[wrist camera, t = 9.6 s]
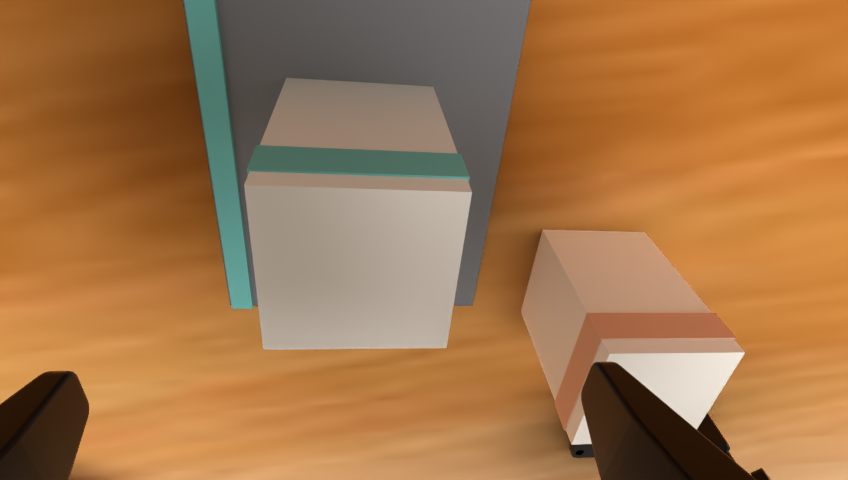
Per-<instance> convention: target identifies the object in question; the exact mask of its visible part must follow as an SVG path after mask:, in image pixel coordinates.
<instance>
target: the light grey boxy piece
mask: <svg viewBox="0 0 848 480" xmlns="http://www.w3.org/2000/svg"><path fill="white" fill-rule="evenodd" d="M521 314H522V316H523V319H524V322H525V324H526V327H527V330H528V332H529V335H530V337H531V340H532V343H533V345H534V348H535V351H536V353H537V356H538V358H539V361H540V364H541V366H542V369H543V372H544V374H545V377H546V379H547V382H548V385H549V387H550V390H551V393H552V395H553V398H554V400H555V402H554V405H555V408H556V411H557V413H558V416H559V419H560V421H561V424H562V427H563V429H564V431H566V432H567V435H568V437H569V440H570V442H571V445H577V444H592V443H591V438H590V434H589V430H588V426H587V422H586V418H585V414H584V410H583V406H582V401H581V392H582V388H583V385H584V383H585V380H586V378H587V375H588V373H589V370H590V368H591V366H592V364H594V363H595V362H616V363H618V364H619V365H620V366H622V367H623V368H624V369H625V370H626V371H628V372H629V373H630V374H631V375H632V376H634V377H635V378H636V379H637V380H638V381H639V382H641V383H642V384H643V385H644V386H645V387H647V388H648V389H649V390H650V391H651V392H653V393H654V394H655V395H656V396H657V397H659V398H660V399H661V400H662V401H663V402H664V403H666V404H667V405H668V406H669V407H670V408H672V409H673V410H674V411H675V412H676V413H678V414H679V415H680V416H681V417H682V418H683V419H685V420H686V421H687V422H688V423H689V424H691V425H692V426H693V427H694V428H695V429H697V428H698V427H699V425H700V424H701V422H702V420H703V419H704V417H705V416H706V414H707V412H708V411H709V409H710V408H711V406H712V405H713V403H714V401H715V400H716V398H717V397H718V395H719V393H720V392H721V390H722V389H723V387H724V385H725V384H726V382H727V381H728V379H729V377H730V376H731V374H732V373H733V371H734V369H735V368H736V366H737V365H738V363H739V361H740V360H741V358H742V357H743V355H744V354H745V352H744V350H743V349H742V348H741V347H740V346H739V344H738V343H737V342H736V341H735V338H736V337H735V336H734V335H733V334H732V332H731V331H730V330H729V329H728V328H727V326H726V325H725V324H724V323H723V322H722V321H721V319H720V318H719V317H718V316H717V315H716V313H712V312H711V311H710V310H709V308H708V307H707V306H706V305H705V304H704V302H703V301H702V300H701V299H700V298H699V296H698V295H697V294H696V293H695V292H694V290H693V289H692V288H691V287H690V286H689V284H688V283H687V282H686V281H685V280H684V278H683V277H682V276H681V275H680V274H679V272H678V271H677V270H676V269H675V268H674V266H673V265H672V264H671V263H670V262H669V260H668V259H667V258H666V257H665V256H664V254H663V253H662V252H661V251H660V250H659V248H658V247H657V246H656V245H655V244H654V242H653V241H652V240H651V239H650V238H649V236H648V235H647V234H646V233H645V232H624V231H584V230H542V234H541V237H540V241H539V245H538V249H537V252H536V256H535V260H534V264H533V267H532V271H531V275H530V279H529V283H528V286H527V290H526V294H525V298H524V301H523V305H522V309H521Z"/></svg>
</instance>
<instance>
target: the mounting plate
mask: <svg viewBox="0 0 848 480" xmlns="http://www.w3.org/2000/svg"><path fill="white" fill-rule="evenodd" d="M530 3H531V0H183V6H184V12H185V19H186V25H187V31H188V38H189V44H190V50H191V57H192V63H193V70H194V76H195V82H196V89H197V95H198V101H199V108H200V114H201V121H202V127H203V133H204V140H205V146H206V152H207V159H208V165H209V172H210V178H211V184H212V191H213V197H214V203H215V210H216V216H217V223H218V229H219V235H220V242H221V248H222V254H223V261H224V267H225V274H226V280H227V286H228V293H229V299H230V305H232V309H253V306H254V305H258V300H257V291H256V283H255V274H254V265H253V257H252V248H251V240H250V231H249V223H248V214H247V206H246V197H245V189H244V184H245V181H246V179H247V167H248V165H249V162H250V160H251V157H252V155H253V152H254V150H255V147H256V145H260V143H261V141H262V138H263V136H264V133H265V131H266V128H267V126H268V123H269V120H270V118H271V115H272V113H273V110H274V108H275V105H276V103H277V100H278V98H279V95H280V93H281V90H282V87H283V85H284V82H285V80H286V78H300V79H317V80H333V81H350V82H366V83H383V84H399V85H416V86H433V87H434V90H435V93H436V96H437V98H438V101H439V104H440V106H441V109H442V112H443V115H444V117H445V120H446V123H447V125H448V128H449V131H450V134H451V136H452V139H453V142H454V144H455V147H456V150H457V153H458V154H461V155H462V158H463V161H464V163H465V166H466V168H467V171H468V174H469V176H470V179H469V185H470V188H471V191H472V196H471V202H470V208H469V214H468V220H467V226H466V233H465V239H464V245H463V251H462V257H461V263H460V269H459V275H458V281H457V287H456V293H455V300H454V306H473V301H474V295H475V290H476V285H477V280H478V275H479V269H480V264H481V259H482V254H483V249H484V243H485V238H486V233H487V228H488V222H489V217H490V212H491V207H492V202H493V196H494V191H495V186H496V181H497V175H498V170H499V165H500V160H501V155H502V149H503V144H504V139H505V134H506V129H507V123H508V118H509V113H510V108H511V102H512V97H513V92H514V87H515V82H516V76H517V71H518V66H519V61H520V55H521V50H522V45H523V40H524V35H525V29H526V24H527V19H528V14H529V9H530Z"/></svg>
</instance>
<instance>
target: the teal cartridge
mask: <svg viewBox="0 0 848 480" xmlns="http://www.w3.org/2000/svg"><path fill="white" fill-rule="evenodd" d="M469 179H470V176H469V174H468V171H467V168H466V166H465V163H464V161H463V158H462V155H461V154H458V153H457V150H456V147H455V144H454V142H453V139H452V136H451V134H450V131H449V128H448V125H447V123H446V120H445V117H444V115H443V112H442V109H441V106H440V104H439V101H438V98H437V96H436V93H435V90H434V87H433V86H416V85H399V84H383V83H366V82H350V81H333V80H317V79H300V78H286V80H285V82H284V85H283V87H282V90H281V93H280V95H279V98H278V100H277V103H276V105H275V108H274V110H273V113H272V115H271V118H270V120H269V123H268V126H267V128H266V131H265V133H264V136H263V138H262V141H261V143H260V145H256V147H255V150H254V152H253V155H252V157H251V160H250V162H249V165H248V167H247V179H246V181H245V184H244V189H245V197H246V206H247V214H248V223H249V231H250V240H251V248H252V257H253V265H254V274H255V283H256V291H257V300H258V308H259V317H260V325H261V334H262V342H263V350H296V349H395V348H447V342H448V336H449V330H450V324H451V318H452V312H453V306H454V300H455V293H456V287H457V281H458V275H459V269H460V263H461V257H462V251H463V245H464V239H465V233H466V226H467V220H468V214H469V208H470V202H471V196H472V191H471V188H470V185H469Z"/></svg>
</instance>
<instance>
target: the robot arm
mask: <svg viewBox="0 0 848 480" xmlns="http://www.w3.org/2000/svg"><path fill="white" fill-rule="evenodd" d="M581 401H582V406H583V410H584V414H585V418H586V422H587V426H588V430H589V434H590V438H591V443H592V444H577V445H571V444H570V447H569V449H570V452H571V455H572V456H573V457H576V458H581V457H595V459H596V463H597V467H598V471H599V474H600V478H601V480H771V479H770V477H769V476H768V475H767V474H766V472H765V471H764V470H763V469H762V468H760V469H758V470H756V471H754V472H752V473H751V475H750V474H749V473H748V472H746V471H745V470H744V469H743V468H742V467H741V466H739V465H738V464H737V463H736V462H735V460H734V459H733V457H732V456H731V454H730V453H729V449H730V447H729V445H728V443H727V442H726V440H725V438H724V437H723V435H722V434H721V432H720V431H719V429H718V428H717V426H716V425H715V423H714V422H713V420H712V419H711V417H710V416H709V414H708V413H707V414H706V416H705V417H704V419H703V420H702V422H701V424H700V425H699V427H698V428H697V429H695V428H694V427H693V426H692V425H691V424H689V423H688V422H687V421H686V420H685V419H683V418H682V417H681V416H680V415H679V414H678V413H676V412H675V411H674V410H673V409H672V408H670V407H669V406H668V405H667V404H666V403H664V402H663V401H662V400H661V399H660V398H659V397H657V396H656V395H655V394H654V393H653V392H651V391H650V390H649V389H648V388H647V387H645V386H644V385H643V384H642V383H641V382H639V381H638V380H637V379H636V378H635V377H634V376H632V375H631V374H630V373H629V372H628V371H626V370H625V369H624V368H623V367H622V366H620V365H619V364H618V363H616V362H595V363H594V364H592V366H591V368H590V370H589V373H588V375H587V378H586V380H585V383H584V385H583V388H582V392H581ZM88 415H89V403H88V400H87V398H86V395H85V393H84V391H83V388H82V386H81V384H80V381H79V379H78V377H77V375H76V374H75V373H74V372H72V371H49V372H45V373H43V374H41V375H39V376H38V377H37V378H35V379H34V380H32V381H31V382H30V383H28V384H27V385H26V386H24V387H23V388H22V389H20V390H19V391H18V392H16V393H15V394H14V395H12V396H11V397H9V398H8V399H7V400H5V401H4V402H3V403H1V404H0V480H69V477H70V474H71V470H72V467H73V464H74V461H75V458H76V454H77V451H78V448H79V445H80V441H81V438H82V435H83V432H84V428H85V425H86V422H87V419H88Z"/></svg>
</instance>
